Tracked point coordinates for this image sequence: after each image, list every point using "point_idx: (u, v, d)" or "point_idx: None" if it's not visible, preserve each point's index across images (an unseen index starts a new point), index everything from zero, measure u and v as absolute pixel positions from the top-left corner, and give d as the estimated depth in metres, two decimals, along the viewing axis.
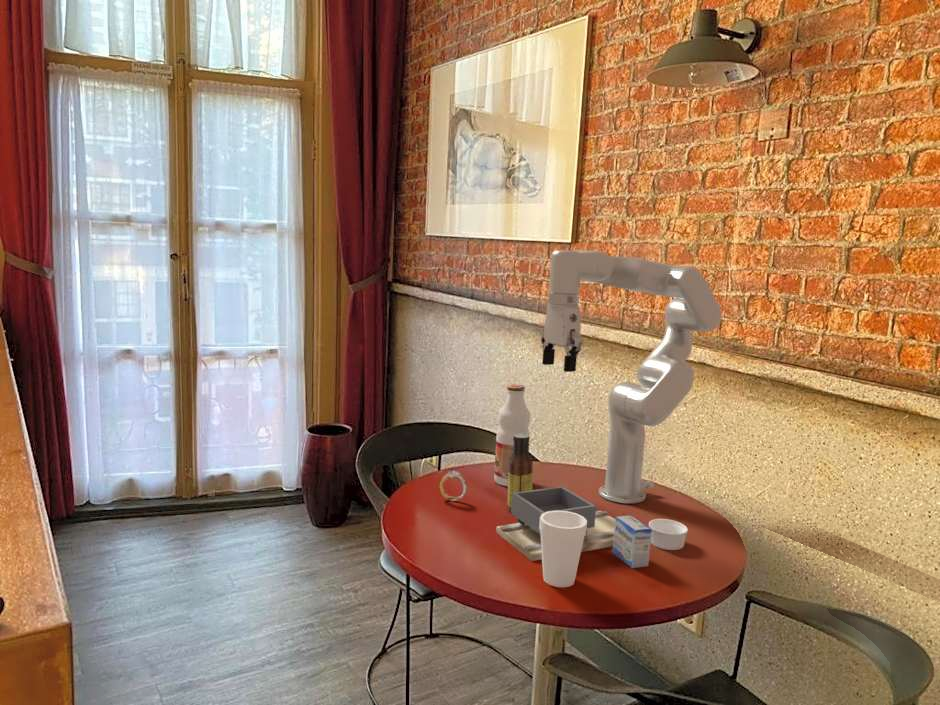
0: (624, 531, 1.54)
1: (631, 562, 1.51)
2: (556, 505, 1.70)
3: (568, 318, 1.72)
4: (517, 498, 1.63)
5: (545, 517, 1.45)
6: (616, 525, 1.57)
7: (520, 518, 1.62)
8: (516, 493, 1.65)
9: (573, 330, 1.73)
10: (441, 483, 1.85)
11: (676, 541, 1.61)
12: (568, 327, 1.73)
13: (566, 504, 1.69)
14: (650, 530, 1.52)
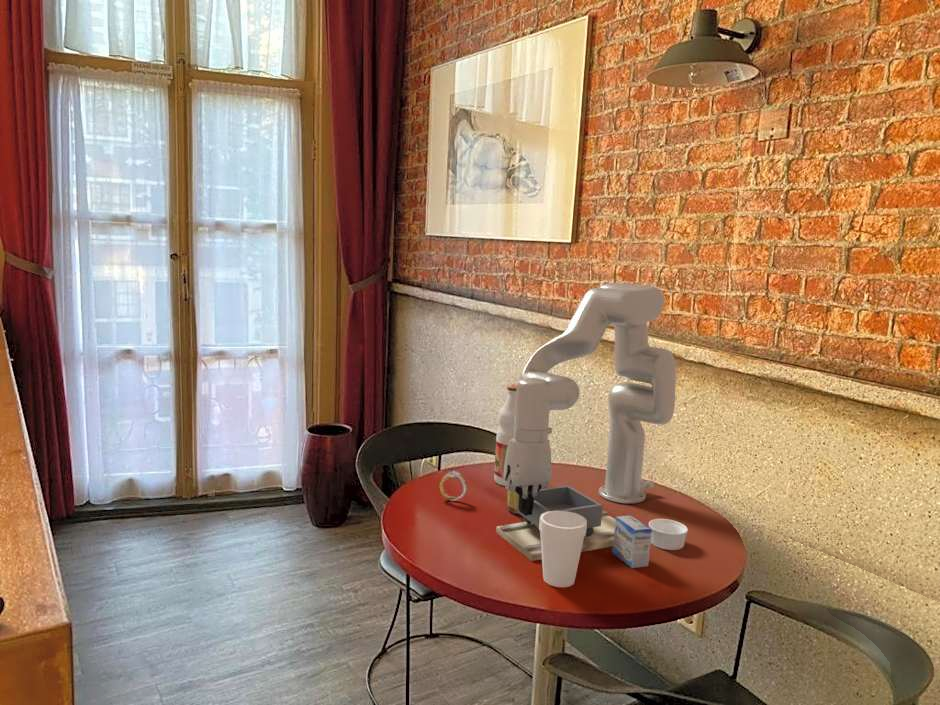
0: (624, 531, 1.54)
1: (631, 562, 1.51)
2: (562, 504, 1.71)
3: None
4: None
5: (545, 517, 1.45)
6: (616, 525, 1.57)
7: (527, 517, 1.63)
8: None
9: None
10: (441, 483, 1.85)
11: (676, 541, 1.61)
12: None
13: (572, 503, 1.70)
14: (650, 530, 1.52)
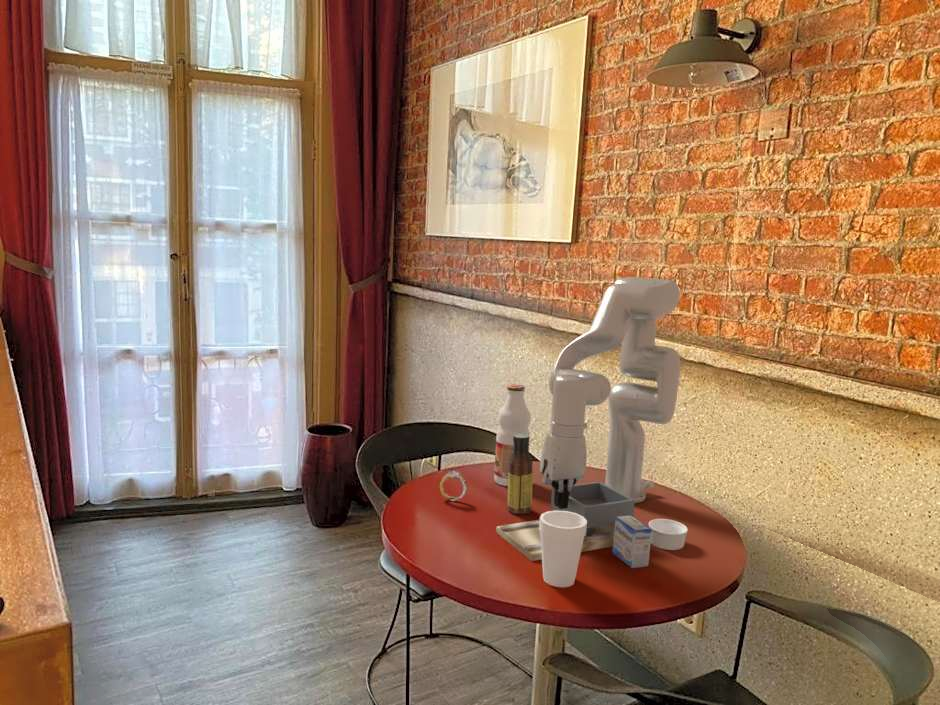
0: (624, 531, 1.54)
1: (631, 562, 1.51)
2: (594, 500, 1.75)
3: None
4: None
5: (545, 517, 1.45)
6: (616, 525, 1.57)
7: None
8: None
9: None
10: (441, 483, 1.85)
11: (676, 541, 1.61)
12: None
13: (604, 498, 1.74)
14: (650, 530, 1.52)
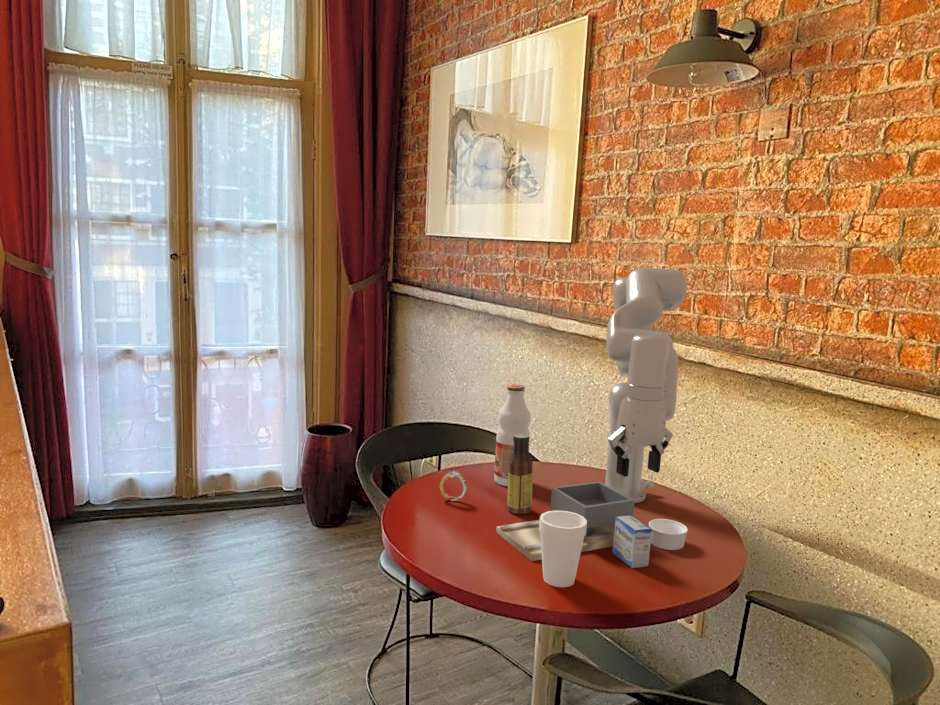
0: (624, 531, 1.54)
1: (631, 562, 1.51)
2: (594, 500, 1.75)
3: None
4: (557, 493, 1.68)
5: (545, 517, 1.45)
6: (616, 525, 1.57)
7: None
8: (556, 488, 1.70)
9: None
10: (441, 483, 1.85)
11: (676, 541, 1.61)
12: None
13: (604, 498, 1.74)
14: (650, 530, 1.52)
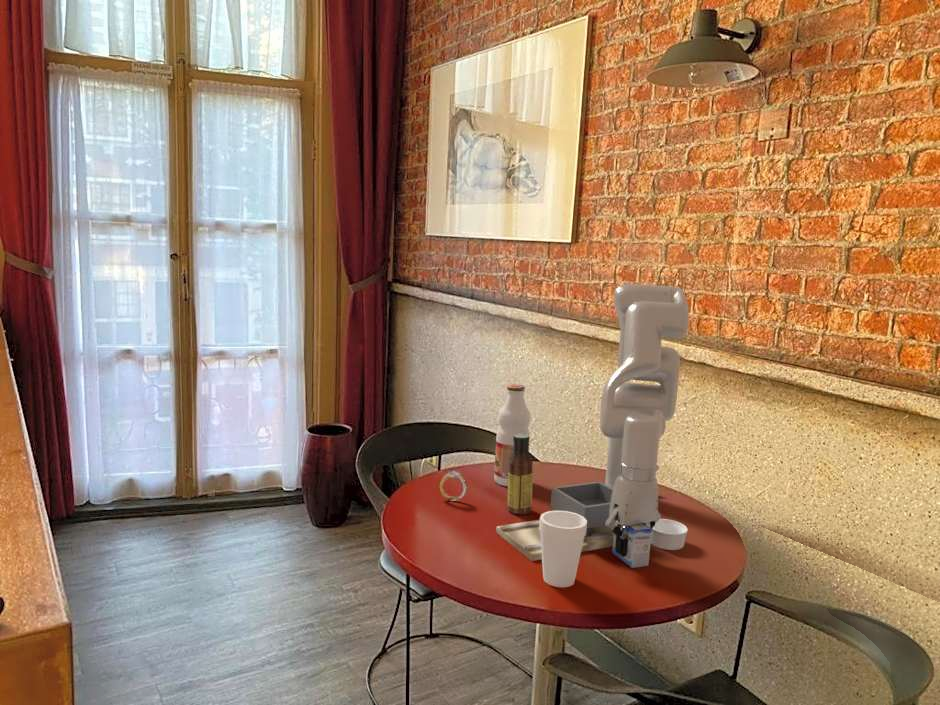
0: None
1: (631, 562, 1.51)
2: (594, 500, 1.75)
3: None
4: (557, 493, 1.68)
5: (545, 517, 1.45)
6: None
7: None
8: (556, 488, 1.70)
9: None
10: (441, 483, 1.85)
11: (676, 541, 1.61)
12: None
13: (604, 498, 1.74)
14: (650, 530, 1.52)
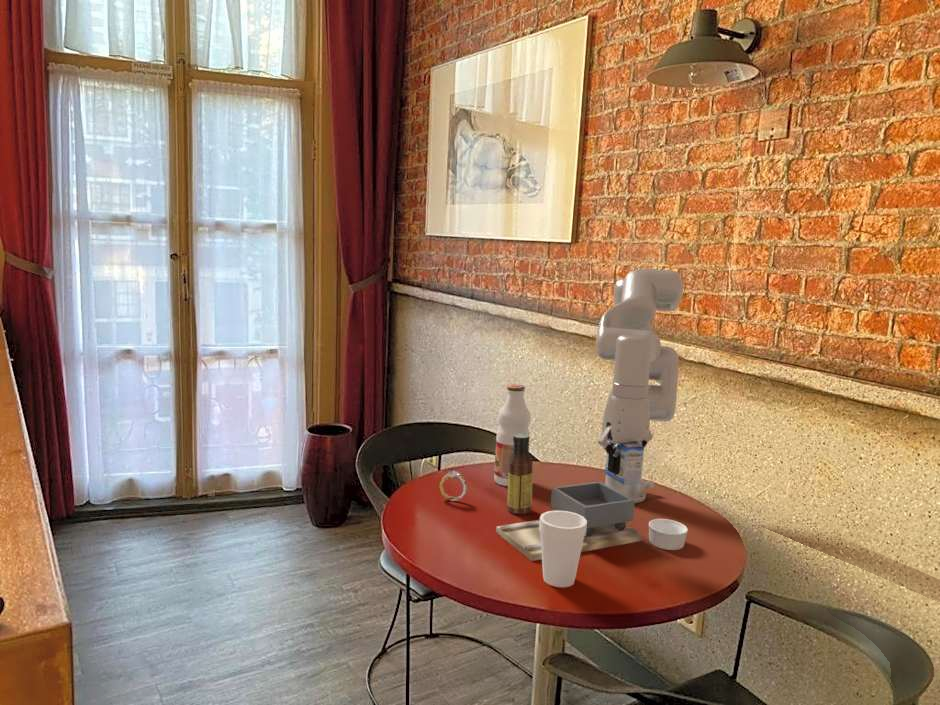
0: None
1: (624, 479, 1.53)
2: (594, 500, 1.75)
3: None
4: (557, 493, 1.68)
5: (545, 517, 1.45)
6: None
7: None
8: (556, 488, 1.70)
9: None
10: (441, 483, 1.85)
11: (676, 541, 1.61)
12: None
13: (604, 498, 1.74)
14: (642, 447, 1.54)
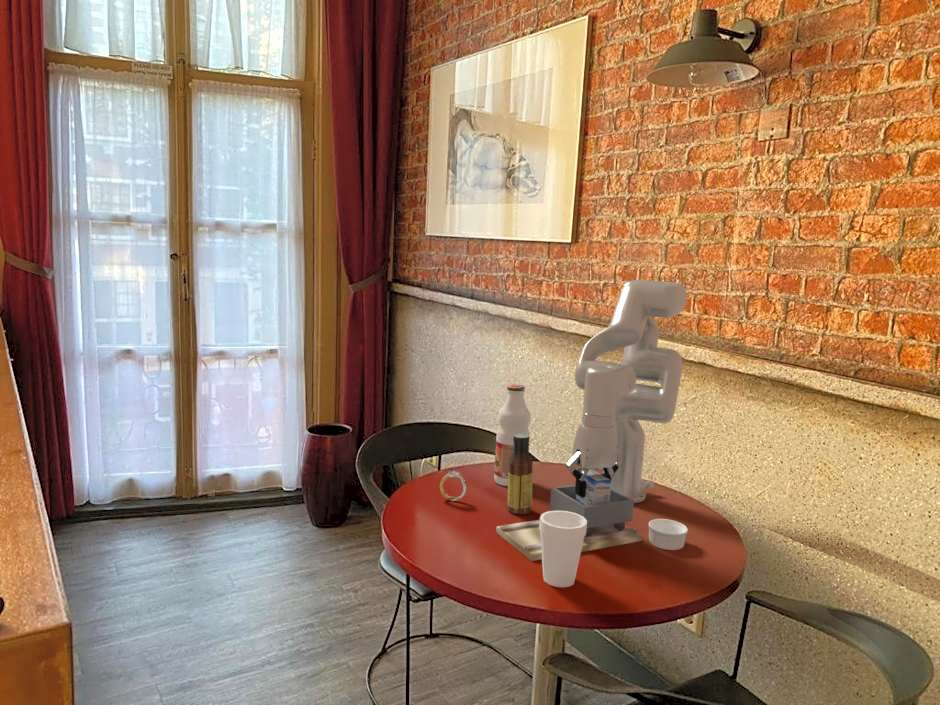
0: (586, 482, 1.66)
1: None
2: None
3: None
4: (556, 493, 1.68)
5: (545, 517, 1.45)
6: None
7: None
8: (555, 488, 1.70)
9: None
10: (441, 483, 1.85)
11: (676, 541, 1.61)
12: None
13: None
14: (610, 481, 1.64)
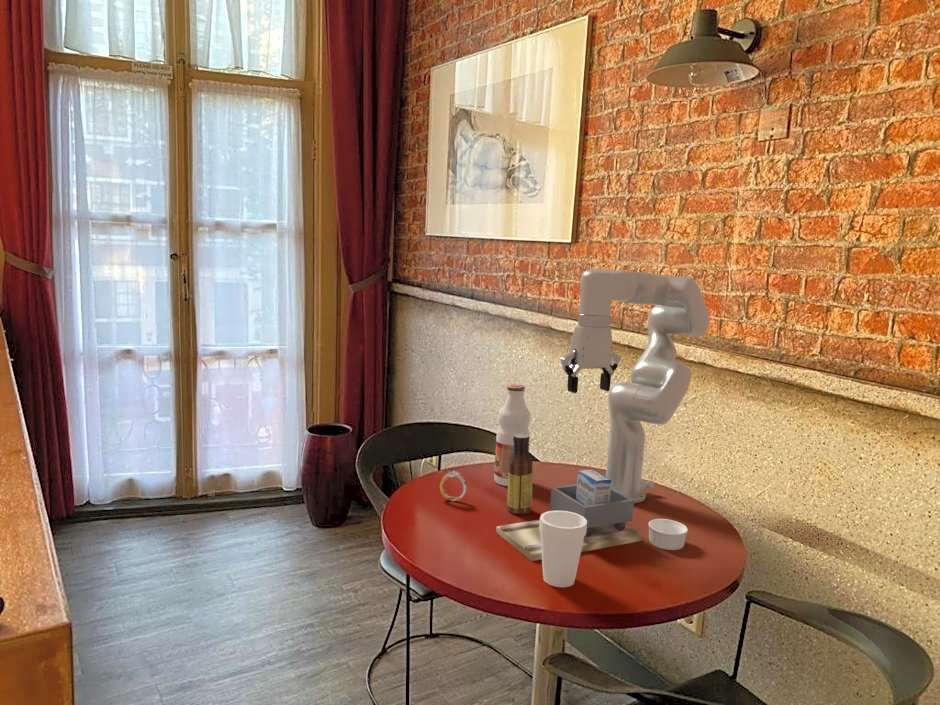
0: (586, 482, 1.66)
1: None
2: None
3: None
4: (557, 493, 1.68)
5: (545, 517, 1.45)
6: (578, 478, 1.69)
7: None
8: (555, 488, 1.70)
9: None
10: (441, 483, 1.85)
11: (676, 541, 1.61)
12: None
13: None
14: (610, 481, 1.64)
